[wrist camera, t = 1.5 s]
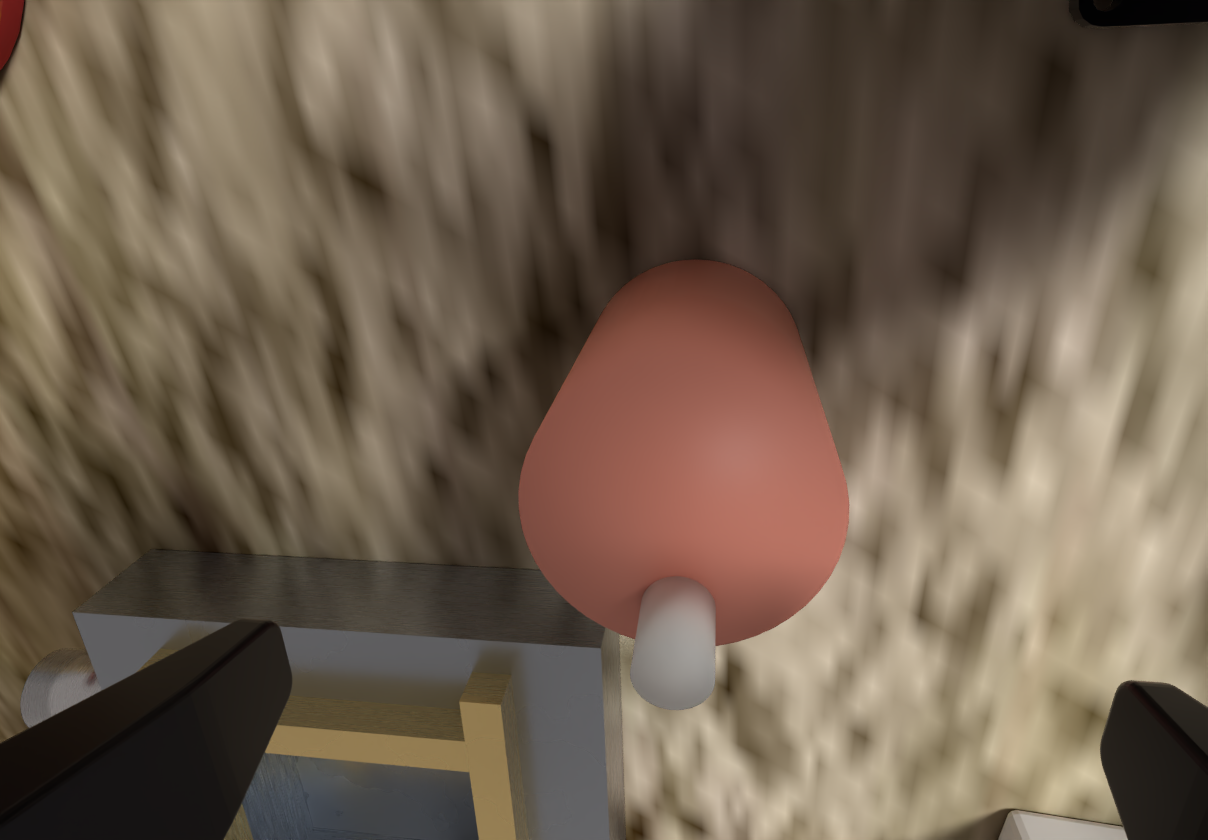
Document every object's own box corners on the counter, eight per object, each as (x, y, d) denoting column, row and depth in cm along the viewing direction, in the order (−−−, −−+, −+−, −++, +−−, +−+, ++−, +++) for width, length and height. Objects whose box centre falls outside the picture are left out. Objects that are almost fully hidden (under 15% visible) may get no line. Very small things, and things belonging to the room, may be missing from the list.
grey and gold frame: (616, 574, 20) (594, 678, 17) (628, 915, 26) (613, 1048, 22) (61, 544, 23) (-63, 629, 19) (179, 861, 28) (100, 974, 25)
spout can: (809, 258, 16) (889, 406, 9) (795, 463, 18) (850, 735, 11) (584, 260, 17) (471, 398, 9) (593, 457, 19) (505, 706, 11)
